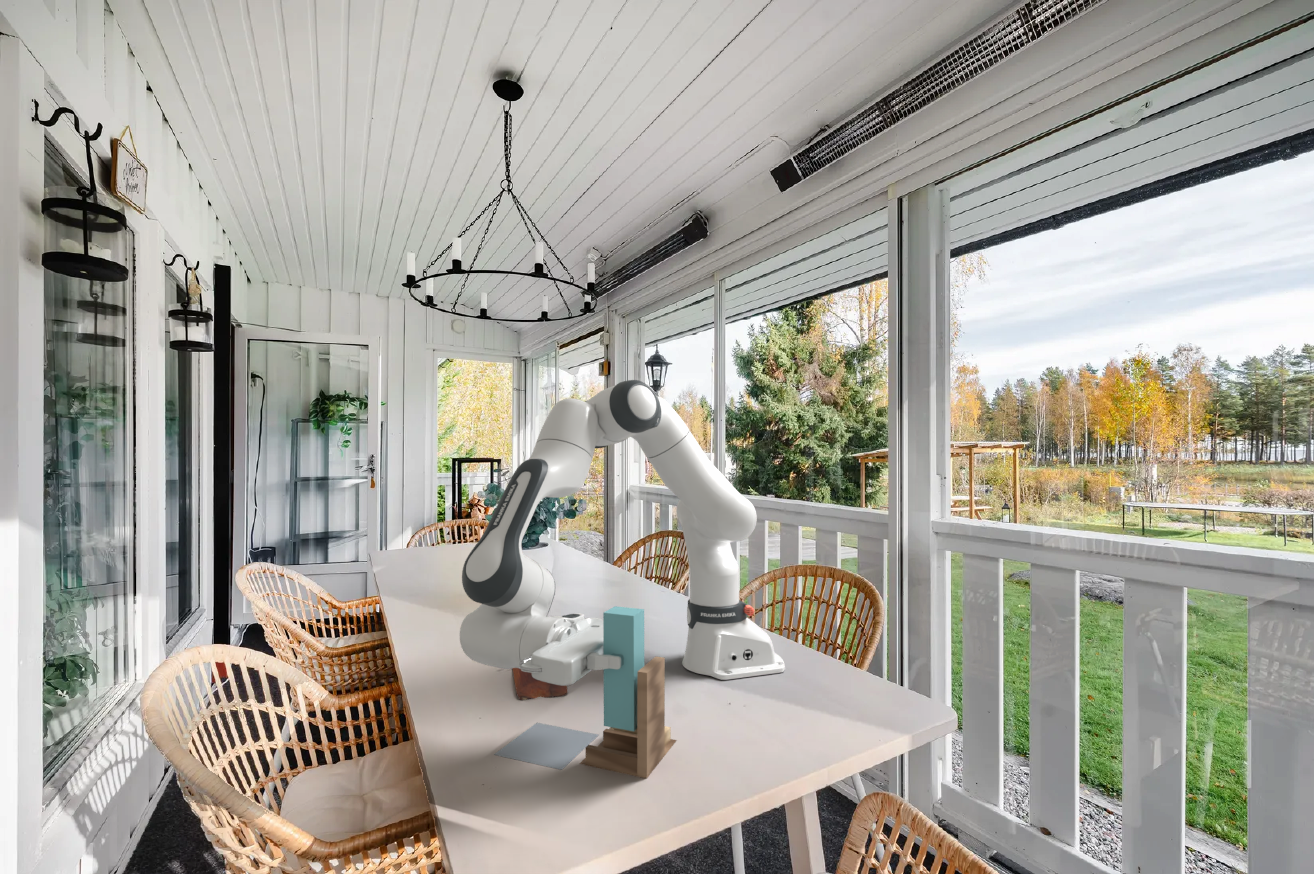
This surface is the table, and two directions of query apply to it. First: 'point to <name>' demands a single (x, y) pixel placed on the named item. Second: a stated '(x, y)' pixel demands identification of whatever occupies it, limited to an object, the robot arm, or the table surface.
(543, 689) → the wooden tablet
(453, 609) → the table surface
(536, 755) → the slate mat
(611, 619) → the tall teal block
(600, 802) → the table surface
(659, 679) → the walnut rack
